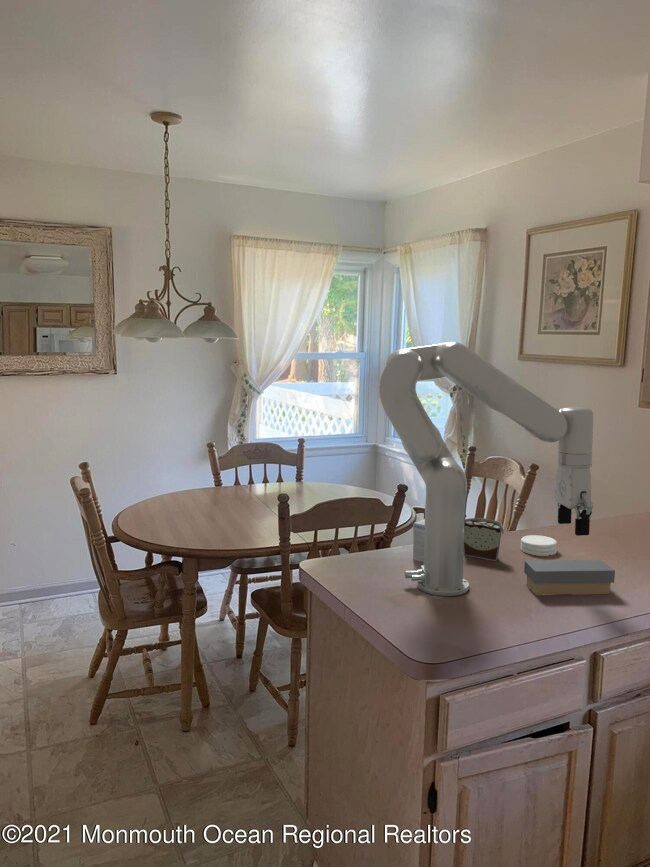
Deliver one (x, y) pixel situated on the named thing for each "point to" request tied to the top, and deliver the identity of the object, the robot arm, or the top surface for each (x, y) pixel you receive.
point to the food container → (482, 538)
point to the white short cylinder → (538, 545)
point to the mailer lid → (569, 571)
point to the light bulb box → (418, 540)
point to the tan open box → (568, 588)
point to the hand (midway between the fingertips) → (573, 529)
